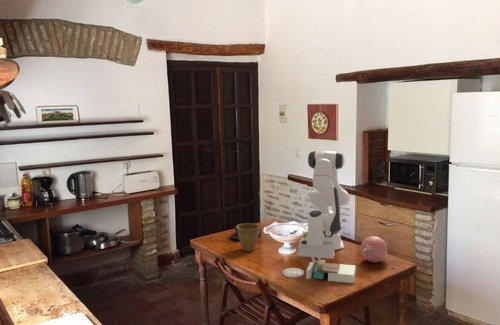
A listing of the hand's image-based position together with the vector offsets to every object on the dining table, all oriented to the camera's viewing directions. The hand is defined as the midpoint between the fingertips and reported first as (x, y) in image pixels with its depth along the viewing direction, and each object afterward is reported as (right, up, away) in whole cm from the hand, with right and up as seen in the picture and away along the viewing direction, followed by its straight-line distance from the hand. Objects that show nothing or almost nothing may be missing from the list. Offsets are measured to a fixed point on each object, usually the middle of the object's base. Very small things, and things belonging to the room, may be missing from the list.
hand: (316, 264), depth 250 cm
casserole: (-39, +3, +75) cm, 85 cm away
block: (+2, -7, -1) cm, 7 cm away
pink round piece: (+36, -3, +18) cm, 40 cm away
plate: (-12, -6, +5) cm, 15 cm away
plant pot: (-38, -1, +47) cm, 60 cm away
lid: (+7, -2, -2) cm, 7 cm away
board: (+8, -6, 0) cm, 11 cm away
